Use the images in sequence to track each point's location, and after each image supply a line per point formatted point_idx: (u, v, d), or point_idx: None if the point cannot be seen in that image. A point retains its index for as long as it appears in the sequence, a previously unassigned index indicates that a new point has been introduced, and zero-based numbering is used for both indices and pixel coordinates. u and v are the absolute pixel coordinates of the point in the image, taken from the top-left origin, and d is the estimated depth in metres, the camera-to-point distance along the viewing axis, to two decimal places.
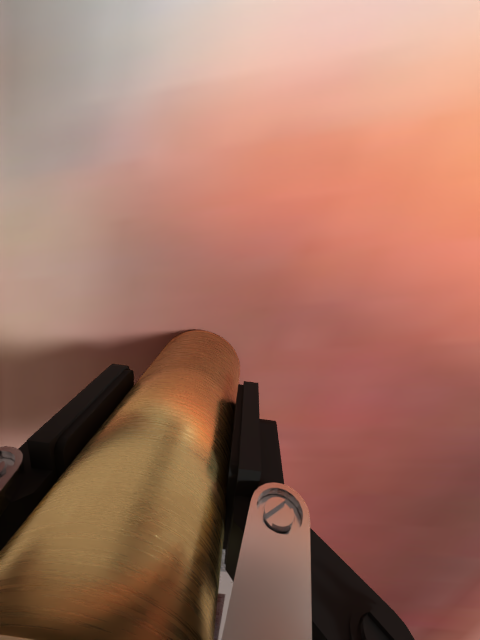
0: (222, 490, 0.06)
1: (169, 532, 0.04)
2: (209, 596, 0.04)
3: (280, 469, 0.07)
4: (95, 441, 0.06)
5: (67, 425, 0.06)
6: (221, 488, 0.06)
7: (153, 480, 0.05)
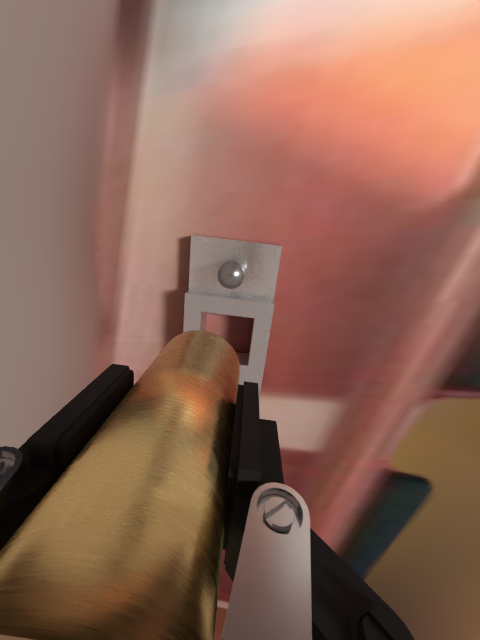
0: (222, 491, 0.06)
1: (168, 533, 0.04)
2: (209, 598, 0.04)
3: (280, 469, 0.07)
4: (94, 441, 0.06)
5: (67, 425, 0.06)
6: (221, 489, 0.06)
7: (152, 480, 0.05)
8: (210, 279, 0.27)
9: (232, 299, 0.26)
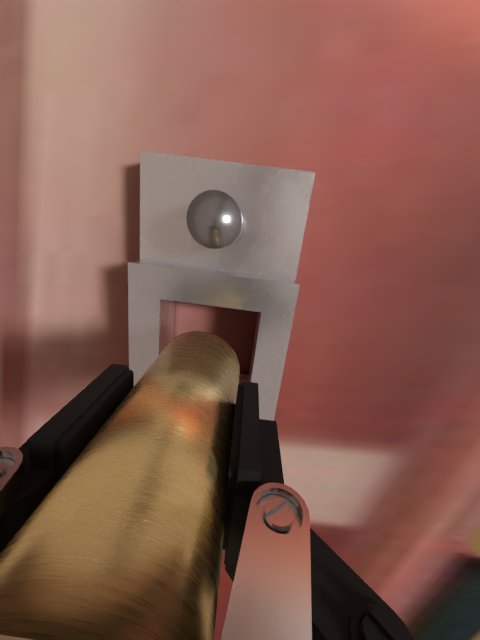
0: (222, 493, 0.06)
1: (168, 536, 0.04)
2: (208, 601, 0.04)
3: (280, 469, 0.07)
4: (94, 444, 0.06)
5: (67, 425, 0.06)
6: (221, 491, 0.06)
7: (152, 483, 0.05)
8: (179, 240, 0.15)
9: (219, 275, 0.14)
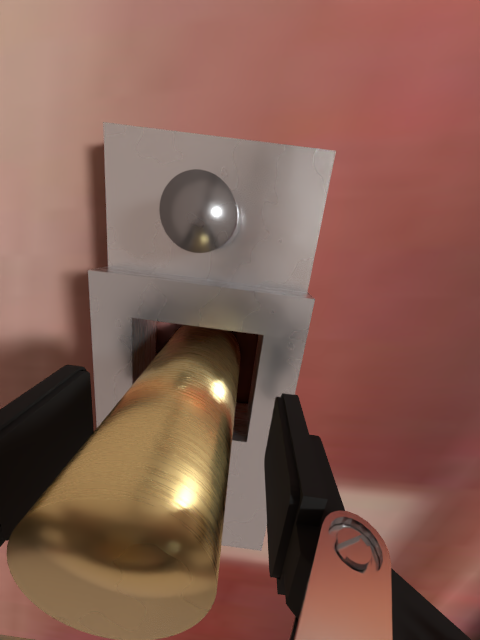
0: (227, 441, 0.08)
1: (188, 457, 0.06)
2: (218, 505, 0.06)
3: (336, 492, 0.06)
4: (124, 401, 0.07)
5: None
6: (226, 440, 0.08)
7: (174, 424, 0.06)
8: (158, 240, 0.11)
9: (208, 287, 0.10)
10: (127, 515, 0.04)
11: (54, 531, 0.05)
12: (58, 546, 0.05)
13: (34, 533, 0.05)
